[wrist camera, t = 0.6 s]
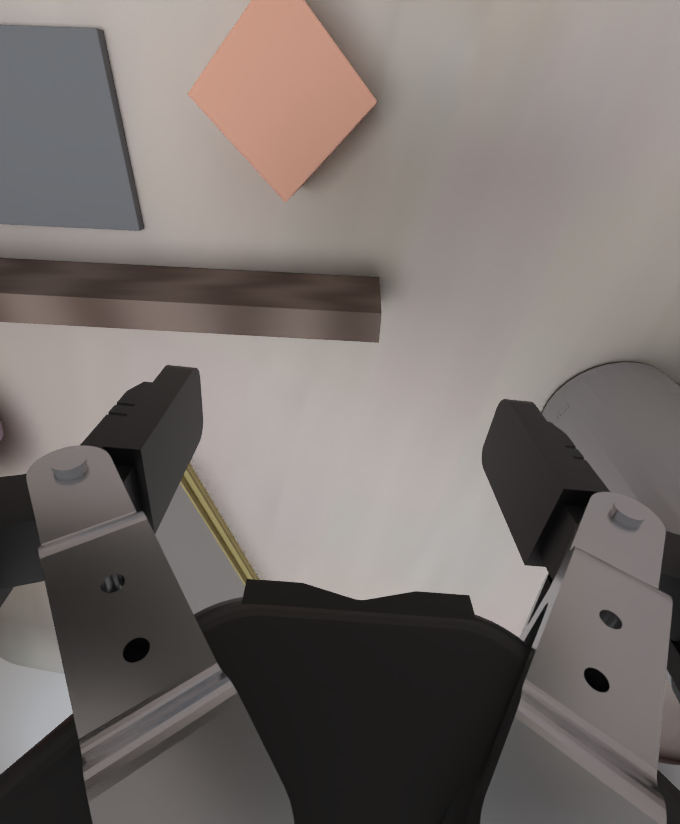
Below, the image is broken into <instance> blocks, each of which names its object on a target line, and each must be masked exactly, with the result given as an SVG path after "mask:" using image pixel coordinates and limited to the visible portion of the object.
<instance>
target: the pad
mask: <svg viewBox="0 0 680 824" xmlns="http://www.w3.org/2000/svg"><path fill="white" fill-rule="evenodd" d="M0 224H11V225H31V226H52V227H73V228H93V229H114V230H134V231H140V230H142V229H144V226H143V221H142V216H141V212H140V207H139V202H138V197H137V192H136V188H135V183H134V178H133V173H132V168H131V164H130V159H129V154H128V149H127V144H126V139H125V135H124V130H123V125H122V120H121V115H120V111H119V106H118V101H117V96H116V91H115V87H114V82H113V77H112V72H111V67H110V62H109V58H108V53H107V48H106V43H105V38H104V34H103V30H100V29H97V28H73V27H45V26H17V25H0Z"/></svg>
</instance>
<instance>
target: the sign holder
mask: <svg viewBox="0 0 680 824" xmlns="http://www.w3.org/2000/svg"><path fill="white" fill-rule="evenodd" d="M155 536H156V538H157V540H158V542H159V544H160V546H161V548H162V550H163V552H164V555H165V557H166V559H167V561H168V563H169V565H170V567H171V569H172V571H173V573H174V575H175V577H176V579H177V581H178V583H179V585H180V587H181V590H182V592H183V594H184V596H185V598H186V600H187V602H188V604H189V606H190V608H191V610H192V612H193V614H195V613H197V612H199V611H201V610H203V609H205V608H207V607H209V606H212V605H214V604H217V603H219V602H223V601H226V600H230V599H234V598H239V597H243V594H244V589H245V585H246V580H247V579H255V580H259V579H258V577H257V575H256V574H255V572H254V570H253V569H252V567H251V565H250V564H249V562H248V560H247V559H246V557H245V555H244V554H243V552H242V550H241V549H240V547H239V545H238V544H237V542H236V540H235V539H234V537H233V535H232V534H231V532H230V530H229V528H228V527H227V525H226V523H225V522H224V520H223V518H222V517H221V515H220V513H219V512H218V510H217V508H216V507H215V505H214V503H213V502H212V500H211V498H210V497H209V495H208V493H207V492H206V490H205V488H204V487H203V485H202V483H201V482H200V480H199V478H198V477H197V475H196V473H195V471H194V470H193V468H192V466H191V465H190V463H189V465H188V467H187V469H186V471H185V473H184V475H183V477H182V479H181V482H180V484H179V486H178V488H177V490H176V492H175V494H174V496H173V498H172V500H171V502H170V505H169V507H168V509H167V511H166V513H165V515H164V517H163V519H162V521H161V523H160V525H159V528H158V530H157V532H156V534H155Z"/></svg>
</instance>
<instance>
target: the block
mask: <svg viewBox="0 0 680 824" xmlns="http://www.w3.org/2000/svg"><path fill="white" fill-rule="evenodd" d="M188 95H189V96H190V97H191V98H192V99H193V101H194V102H195V103H196V104H197V105H198V106H199V107H200V108H201V109H202V111H203V112H204V113H205V114H206V115H207V116H208V117H209V118H210V119H211V121H212V122H213V123H214V124H215V125H216V126H217V127H218V128H219V129H220V131H221V132H222V133H223V134H224V135H225V136H226V137H227V138H228V139H229V141H230V142H231V143H232V144H233V145H234V146H235V147H236V148H237V149H238V151H239V152H240V153H241V154H242V155H243V156H244V157H245V158H246V159H247V160H248V162H249V163H250V164H251V165H252V166H253V167H254V168H255V169H256V170H257V172H258V173H259V174H260V175H261V176H262V177H263V178H264V179H265V180H266V182H267V183H268V184H269V185H270V186H271V187H272V188H273V189H274V190H275V192H276V193H277V194H278V195H279V196H280V197H281V198H282V199H283V200H284V202H286V201H287V200H288V199H289V198H290V197H291V196H292V195H293V194H294V193H295V192H296V191H297V190H298V189H299V188H300V187H301V186H302V185H303V184H304V183H305V182H306V181H307V180H308V179H309V178H310V176H311V175H312V174H313V173H314V172H315V171H316V170H317V169H318V168H319V167H320V165H321V164H322V163H323V162H324V161H325V160H326V159H327V158H328V157H329V156H330V154H331V153H332V152H333V151H334V150H335V149H336V148H337V147H338V146H339V145H340V143H341V142H342V141H343V140H344V139H345V138H346V137H347V136H348V135H349V134H350V133H351V131H352V130H353V129H354V128H355V127H356V126H357V125H358V124H359V123H360V122H361V120H362V119H363V118H364V117H365V116H366V115H367V114H368V113H369V112H370V111H371V109H372V108H373V107H374V106H375V105H376V103H377V100H376V99H375V97H374V96H373V95H372V93H371V92H370V91H369V89H368V88H367V86H366V85H365V84H364V82H363V81H362V80H361V78H360V77H359V75H358V74H357V73H356V71H355V70H354V68H353V67H352V66H351V64H350V63H349V62H348V60H347V59H346V57H345V56H344V55H343V53H342V52H341V50H340V49H339V48H338V46H337V45H336V44H335V42H334V41H333V39H332V38H331V37H330V35H329V34H328V33H327V31H326V30H325V28H324V27H323V26H322V24H321V23H320V21H319V20H318V19H317V17H316V16H315V15H314V13H313V12H312V10H311V9H310V8H309V6H308V5H307V3H306V2H305V1H304V0H252V1H251V2H250V3H249V5H248V6H247V8H246V9H245V11H244V12H243V14H242V15H241V17H240V18H239V20H238V21H237V22H236V24H235V25H234V27H233V28H232V30H231V31H230V33H229V34H228V36H227V37H226V38H225V40H224V41H223V43H222V44H221V46H220V47H219V49H218V50H217V52H216V53H215V55H214V56H213V57H212V59H211V60H210V62H209V63H208V65H207V66H206V68H205V69H204V71H203V72H202V73H201V75H200V76H199V78H198V79H197V81H196V82H195V84H194V85H193V87H192V88H191V90H190V91H189V92H188Z"/></svg>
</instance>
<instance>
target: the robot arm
mask: <svg viewBox="0 0 680 824" xmlns="http://www.w3.org/2000/svg"><path fill="white" fill-rule="evenodd" d="M202 429H203V412H202V398H201V384H200V374H199V371H198V369H197V368H191V367H181V366H171V365H167V366H165V367H164V369H163V370H162V371H161V373H160V374H159V375H158V376H157V378H156V379H155V380H154V381H153V383H152V382H143V383H141V384H139V385H137V386H135V387H133V388H132V389H130V390H128V391H127V392H126V393H125V394H124V395H123V396H122V397H121V399H120V400H119V401H118V402H117V405H115V406H114V407H113V408H112V409H111V410H110V411H109V415H106V416H105V417H104V418H103V419H102V421H101V422H100V423H99V424H98V425H97V426H96V427H95V429H94V430H93V431H92V432H91V433H90V434H89V436H88V437H87V438H86V439H85V440H84V441H83V443H82V444H81V445H80V446H71V447H66V448H62V449H59V450H56V451H53V452H51V453H49V454H47V455H45V456H43V457H41V458H40V459H38V460H37V461H36V462H35V463H33V465H32V466H31V467H30V468H29V470H28V472H27V474H23V475H15V476H6V477H0V607H1V605H2V604H3V602H4V601H5V599H6V598H7V596H8V595H9V593H10V592H11V590H12V589H13V587H15V586H20V585H25V584H30V583H36V582H41V581H45V585H46V590H47V595H48V599H49V604H50V608H51V613H52V618H53V622H54V627H55V632H56V636H57V641H58V646H59V650H60V655H61V659H62V664H63V669H64V673H65V678H66V683H67V687H68V692H69V697H70V701H71V706H72V710H73V714H72V715H70V716H69V717H68V718H67V719H66V720H64V721H63V722H62V723H61V724H60V725H58V726H57V727H56V728H55V729H54V730H53V731H51V732H50V733H49V734H48V735H47V736H45V737H44V738H43V739H42V740H41V741H40V742H38V743H37V744H36V745H35V746H34V747H33V748H31V749H30V750H29V751H28V752H27V753H25V754H24V755H23V756H22V757H21V758H19V759H18V760H17V761H16V762H15V763H14V764H12V765H11V766H10V767H9V768H8V769H6V770H5V771H4V772H3V773H2V774H1V775H0V824H680V791H679V790H678V789H677V788H676V787H675V786H674V785H673V784H672V783H671V782H670V781H669V780H668V779H667V778H666V777H665V776H664V775H662V773H661V772H660V771H658V770H657V765H658V756H659V745H660V734H661V724H662V713H663V702H664V692H665V681H666V677H667V679H668V681H669V683H670V685H671V687H672V689H673V691H674V693H675V695H676V697H677V699H678V701H679V703H680V385H678V384H676V383H675V382H673V381H672V380H671V379H670V378H669V377H668V376H667V375H665V374H664V373H663V372H661V371H659V370H658V369H656V368H654V367H652V366H649V365H645V364H642V363H633V362H620V363H612V364H607V365H603V366H600V367H596V368H593V369H591V370H588V371H586V372H584V373H582V374H580V375H578V376H576V377H575V378H573V379H572V380H570V381H569V382H567V383H566V384H565V385H564V386H562V387H561V388H560V389H559V390H558V391H557V392H556V393H555V394H554V395H553V396H552V398H551V399H550V400H549V402H548V403H547V404H546V406H545V408H544V411H543V413H542V414H541V412H540V411H539V409H538V408H537V407H536V405H535V404H534V403H533V402H528V401H517V400H507V399H503V400H502V401H501V402H500V403H499V405H498V407H497V409H496V412H495V415H494V418H493V421H492V423H491V426H490V429H489V432H488V435H487V437H486V440H485V443H484V446H483V451H482V465H483V469H484V471H485V473H486V476H487V478H488V480H489V483H490V485H491V487H492V490H493V492H494V494H495V497H496V499H497V501H498V504H499V506H500V508H501V511H502V513H503V515H504V518H505V520H506V522H507V525H508V527H509V529H510V532H511V534H512V536H513V539H514V541H515V543H516V546H517V548H518V550H519V553H520V555H521V557H522V560H523V562H524V564H525V565H530V566H542V567H546V568H547V570H548V572H549V573H548V574H547V576H546V578H545V580H544V582H543V584H542V586H541V588H540V591H539V593H538V595H537V598H536V600H535V602H534V605H533V607H532V609H531V612H530V614H529V616H528V619H527V621H526V623H525V626H524V628H523V630H522V633H521V635H520V637H519V638H518V637H517V636H515V635H514V634H513V633H511V632H510V631H508V630H507V629H505V628H503V627H501V626H499V625H498V624H496V623H494V622H492V621H489V620H487V619H485V618H482V617H480V616H477V615H474V611H473V607H472V604H471V600H470V597H469V595H456V594H443V593H429V592H410V593H404V594H398V595H392V596H386V597H381V598H375V599H369V600H355V599H352V598H349V597H345V596H342V595H339V594H336V593H333V592H329V591H326V590H323V589H320V588H317V587H314V586H310V585H307V584H304V583H295V582H282V581H268V580H255V579H247V580H246V585H245V589H244V594H243V597H239V598H234V599H230V600H226V601H223V602H219V603H217V604H214V605H212V606H209V607H207V608H205V609H203V610H201V611H199V612H197V613H195V614H193V612H192V610H191V608H190V606H189V604H188V602H187V600H186V598H185V596H184V594H183V592H182V590H181V587H180V585H179V583H178V581H177V579H176V577H175V575H174V573H173V571H172V569H171V567H170V565H169V563H168V561H167V559H166V557H165V555H164V552H163V550H162V548H161V546H160V544H159V542H158V540H157V538H156V536H155V534H156V532H157V530H158V528H159V525H160V523H161V521H162V519H163V517H164V515H165V513H166V511H167V509H168V507H169V505H170V502H171V500H172V498H173V496H174V494H175V492H176V490H177V488H178V486H179V484H180V482H181V479H182V477H183V475H184V473H185V471H186V469H187V467H188V465H189V463H190V461H191V459H192V456H193V454H194V452H195V450H196V448H197V446H198V444H199V442H200V439H201V435H202Z"/></svg>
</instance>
